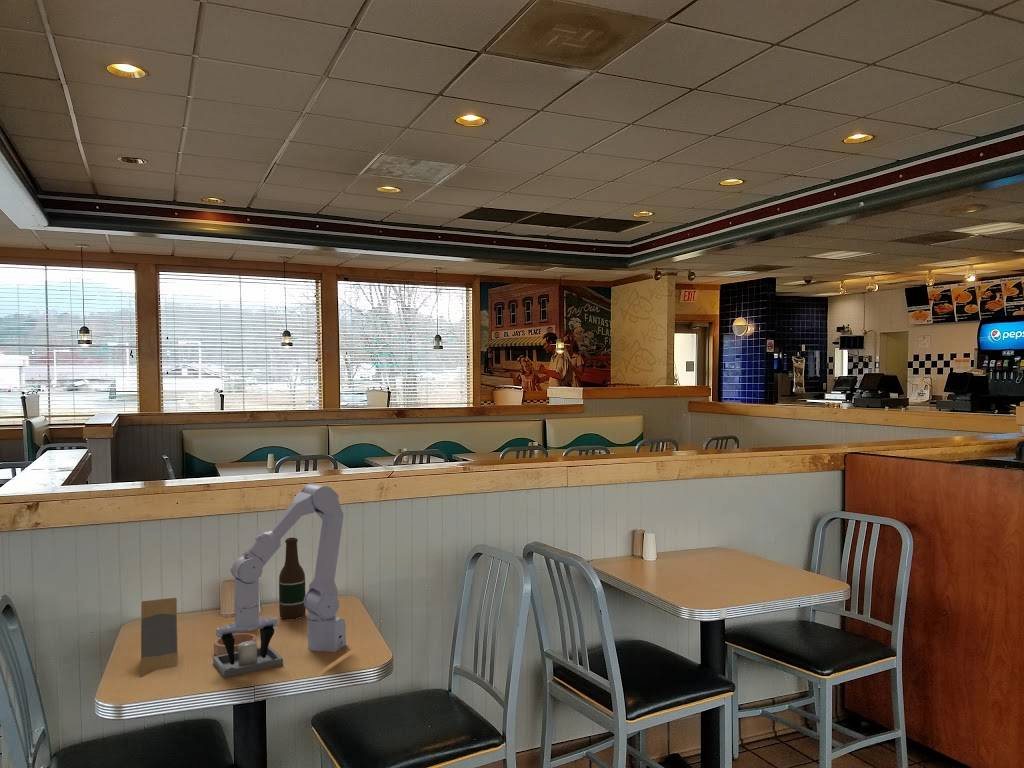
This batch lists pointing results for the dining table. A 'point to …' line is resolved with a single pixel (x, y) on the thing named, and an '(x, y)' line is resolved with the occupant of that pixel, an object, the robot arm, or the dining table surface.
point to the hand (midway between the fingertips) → (247, 660)
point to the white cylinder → (247, 653)
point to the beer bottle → (291, 584)
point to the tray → (262, 663)
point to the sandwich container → (158, 635)
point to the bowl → (239, 638)
